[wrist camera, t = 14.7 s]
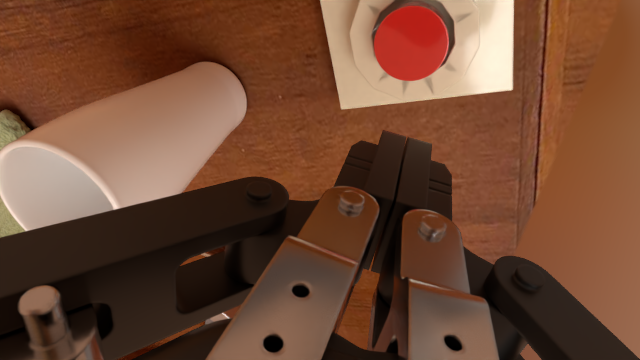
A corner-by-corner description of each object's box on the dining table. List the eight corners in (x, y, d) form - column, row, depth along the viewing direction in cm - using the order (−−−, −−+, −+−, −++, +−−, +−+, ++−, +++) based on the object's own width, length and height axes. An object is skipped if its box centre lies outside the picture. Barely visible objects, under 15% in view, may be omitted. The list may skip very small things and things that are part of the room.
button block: (509, -75, 21) (521, -75, 18) (508, 78, 25) (517, 101, 21) (324, -31, 24) (304, -25, 21) (347, 98, 28) (334, 120, 25)
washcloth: (-52, 180, 44) (-84, 196, 42) (9, 95, 36) (-26, 108, 33) (42, 264, 48) (19, 283, 45) (119, 204, 39) (95, 224, 37)
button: (446, -7, 20) (446, -2, 18) (450, 66, 22) (451, 76, 20) (373, 7, 21) (368, 13, 20) (383, 75, 23) (379, 85, 21)
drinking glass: (198, 143, 33) (50, 270, 21) (160, 61, 30) (-40, 152, 18) (272, 128, 31) (153, 263, 18) (238, 38, 28) (69, 125, 15)
